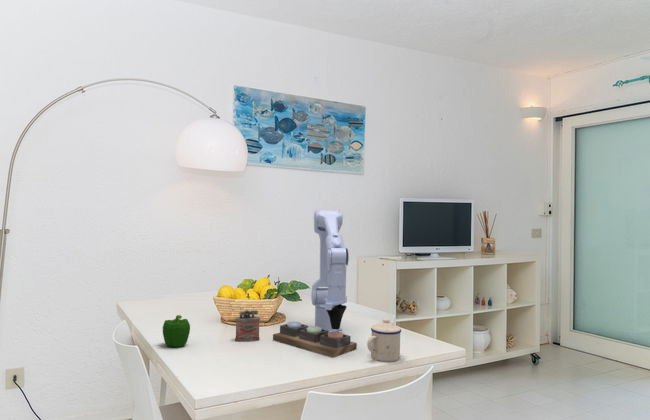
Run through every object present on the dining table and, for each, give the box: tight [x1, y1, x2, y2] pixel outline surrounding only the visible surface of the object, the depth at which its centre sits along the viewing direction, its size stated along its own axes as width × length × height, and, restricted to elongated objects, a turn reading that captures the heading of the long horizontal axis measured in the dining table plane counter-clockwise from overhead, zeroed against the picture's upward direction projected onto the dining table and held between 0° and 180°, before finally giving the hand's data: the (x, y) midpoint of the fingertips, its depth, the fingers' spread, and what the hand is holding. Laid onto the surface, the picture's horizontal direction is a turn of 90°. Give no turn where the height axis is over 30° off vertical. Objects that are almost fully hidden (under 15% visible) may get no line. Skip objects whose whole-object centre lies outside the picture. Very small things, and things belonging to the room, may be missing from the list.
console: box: [272, 323, 358, 358], centre depth 156 cm, size 12×26×5 cm, turn 50°
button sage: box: [307, 325, 321, 334], centre depth 156 cm, size 5×5×2 cm
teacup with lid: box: [366, 318, 402, 363], centre depth 144 cm, size 12×9×12 cm
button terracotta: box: [328, 331, 344, 339], centre depth 150 cm, size 5×5×2 cm
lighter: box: [234, 309, 261, 343], centre depth 159 cm, size 8×3×10 cm, turn 105°
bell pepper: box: [162, 314, 191, 348], centre depth 151 cm, size 8×8×10 cm
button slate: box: [286, 321, 302, 329], centre depth 162 cm, size 5×5×2 cm
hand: (335, 328), depth 150 cm, fingers closed
